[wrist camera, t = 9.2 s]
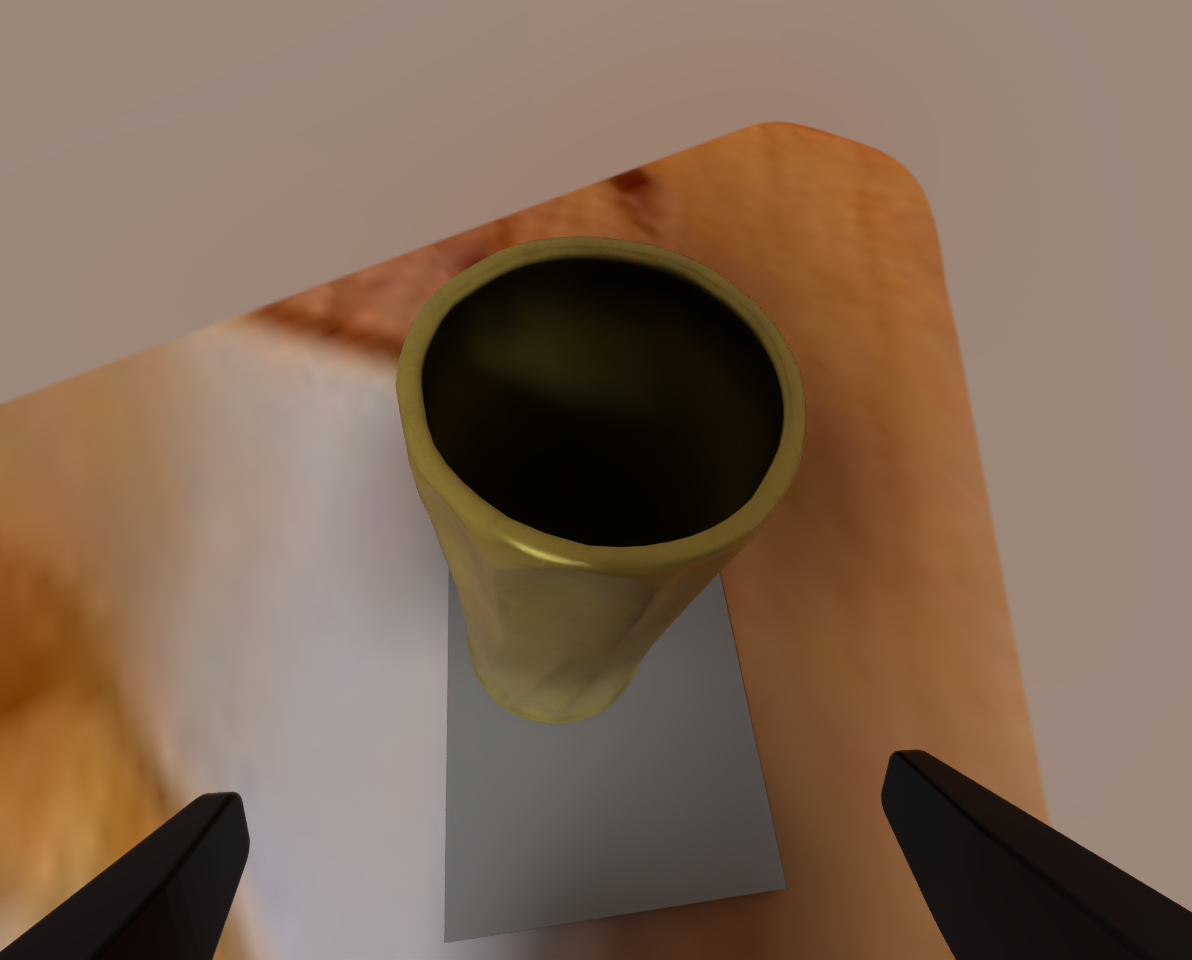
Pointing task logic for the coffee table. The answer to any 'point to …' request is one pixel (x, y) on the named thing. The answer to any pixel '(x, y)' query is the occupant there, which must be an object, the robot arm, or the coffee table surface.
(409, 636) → the coffee table surface
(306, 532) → the coffee table surface
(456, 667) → the mat
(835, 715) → the coffee table surface
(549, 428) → the vase
